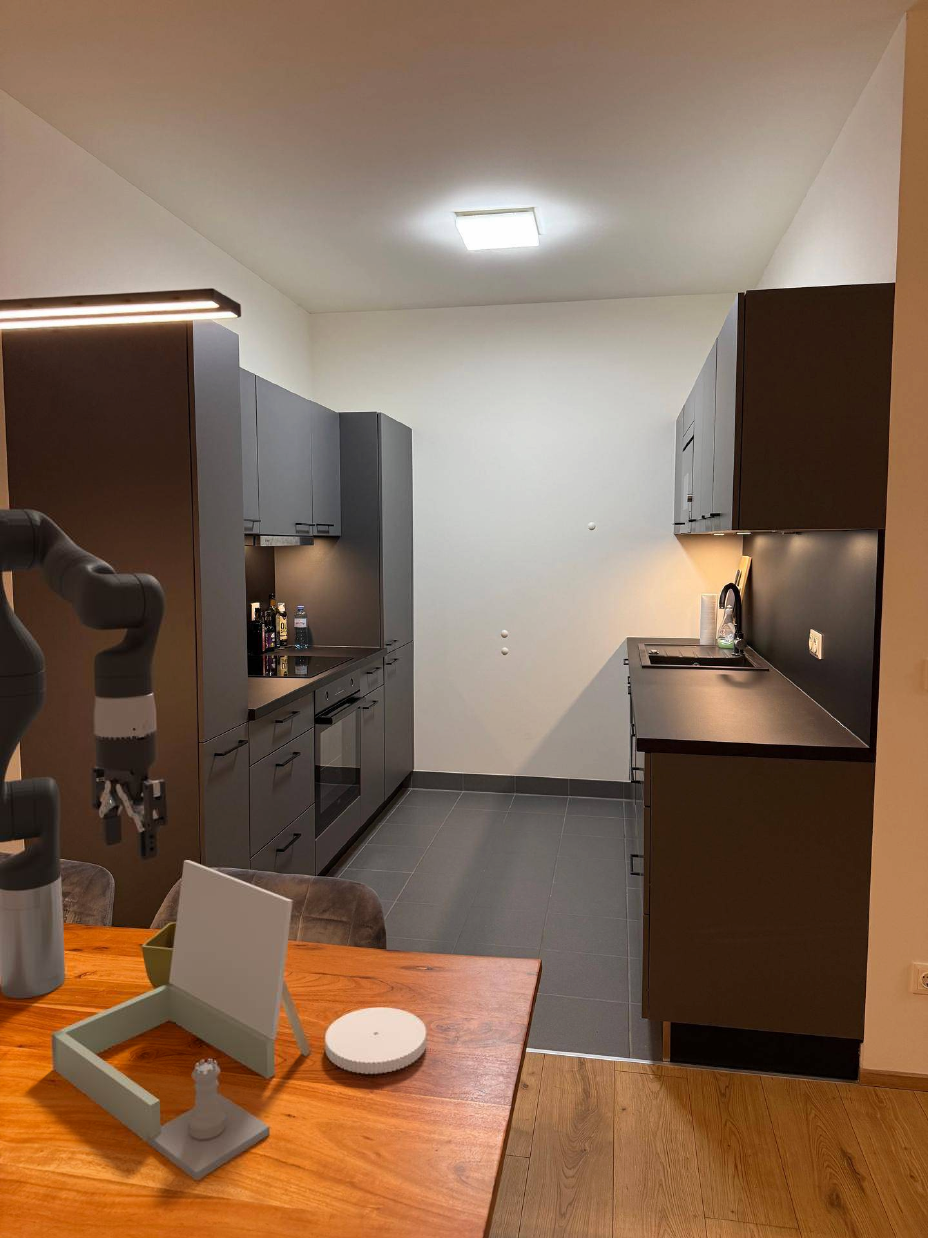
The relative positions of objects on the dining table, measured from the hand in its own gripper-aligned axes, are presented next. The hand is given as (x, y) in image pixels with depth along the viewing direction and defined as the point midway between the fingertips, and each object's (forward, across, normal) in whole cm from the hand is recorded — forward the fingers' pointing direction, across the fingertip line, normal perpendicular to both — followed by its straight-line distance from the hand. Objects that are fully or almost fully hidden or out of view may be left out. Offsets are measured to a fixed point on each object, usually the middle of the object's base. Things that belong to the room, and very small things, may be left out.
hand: (129, 851), depth 116 cm
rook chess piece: (+29, +19, -2) cm, 35 cm away
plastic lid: (+31, +21, +24) cm, 44 cm away
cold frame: (+30, +3, +5) cm, 31 cm away
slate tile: (+30, +19, -2) cm, 36 cm away
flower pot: (+30, -14, +16) cm, 37 cm away
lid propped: (+25, +3, +13) cm, 28 cm away
